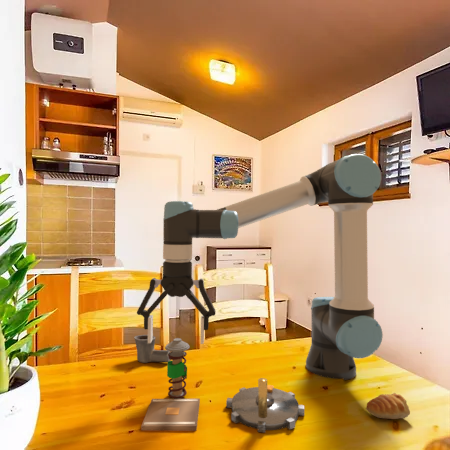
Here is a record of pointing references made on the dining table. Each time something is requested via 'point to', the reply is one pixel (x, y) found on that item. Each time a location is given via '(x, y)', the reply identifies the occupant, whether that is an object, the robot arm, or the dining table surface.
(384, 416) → the pastry
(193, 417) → the pad
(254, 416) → the sprocket
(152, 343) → the pipe
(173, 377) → the shock absorber
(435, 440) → the dining table surface
